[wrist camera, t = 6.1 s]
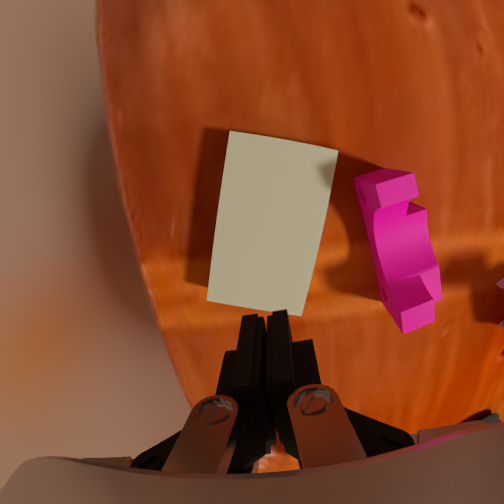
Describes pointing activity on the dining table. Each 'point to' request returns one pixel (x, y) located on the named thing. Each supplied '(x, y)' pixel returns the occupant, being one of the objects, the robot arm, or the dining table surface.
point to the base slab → (269, 222)
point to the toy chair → (503, 284)
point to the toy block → (400, 246)
